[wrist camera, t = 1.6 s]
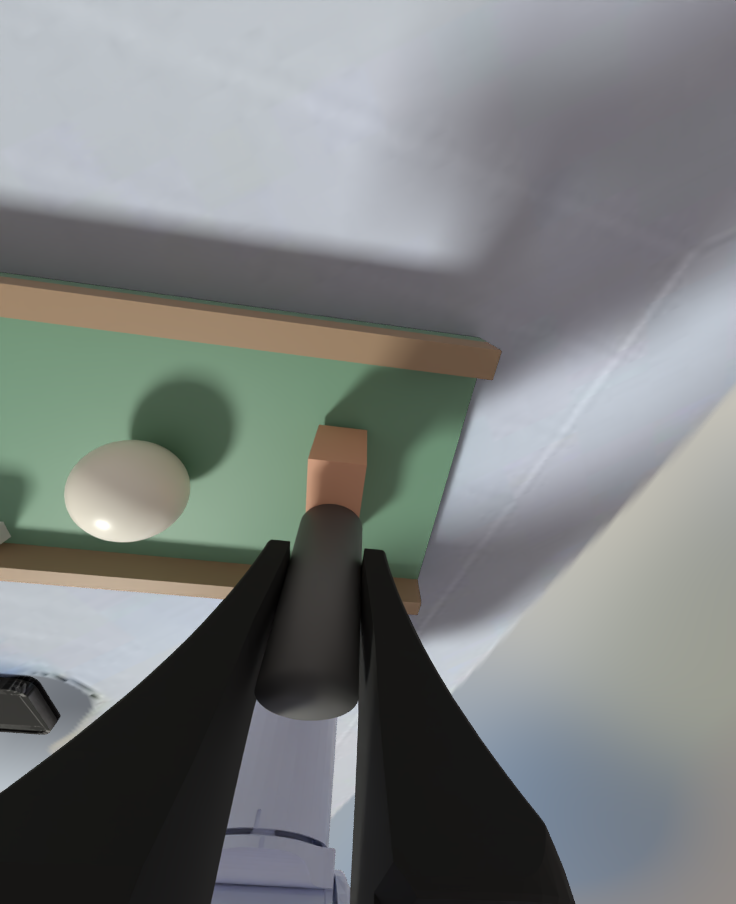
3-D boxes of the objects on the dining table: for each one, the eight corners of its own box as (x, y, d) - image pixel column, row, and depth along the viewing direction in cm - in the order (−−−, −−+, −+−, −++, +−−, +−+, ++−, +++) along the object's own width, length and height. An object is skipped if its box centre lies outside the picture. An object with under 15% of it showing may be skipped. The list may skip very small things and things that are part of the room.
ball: (211, 503, 16) (165, 569, 12) (125, 495, 15) (54, 560, 12) (201, 429, 14) (144, 482, 10) (103, 418, 14) (10, 469, 10)
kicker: (356, 537, 16) (346, 753, 9) (308, 532, 16) (259, 748, 9) (372, 430, 13) (376, 620, 6) (314, 424, 13) (247, 609, 6)
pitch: (411, 576, 20) (417, 615, 17) (-85, 532, 18) (-148, 568, 16) (479, 337, 13) (501, 350, 11) (-305, 230, 11) (-467, 220, 9)
